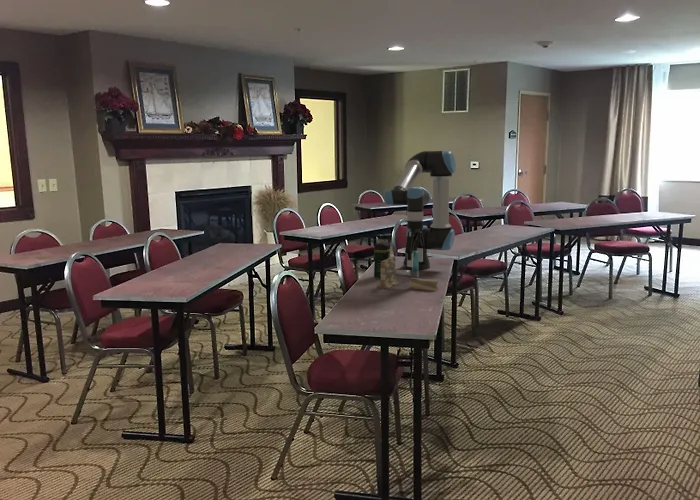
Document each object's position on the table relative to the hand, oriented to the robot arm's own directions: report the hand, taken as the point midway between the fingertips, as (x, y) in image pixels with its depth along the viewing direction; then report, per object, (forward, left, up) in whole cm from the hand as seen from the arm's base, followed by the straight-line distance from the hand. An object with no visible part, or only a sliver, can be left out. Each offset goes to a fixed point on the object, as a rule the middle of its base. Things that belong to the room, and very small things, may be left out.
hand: (415, 264), depth 279 cm
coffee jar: (-16, -24, -12) cm, 31 cm away
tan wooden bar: (0, +4, -12) cm, 13 cm away
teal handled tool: (0, -7, -7) cm, 10 cm away
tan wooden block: (0, -14, -12) cm, 18 cm away
